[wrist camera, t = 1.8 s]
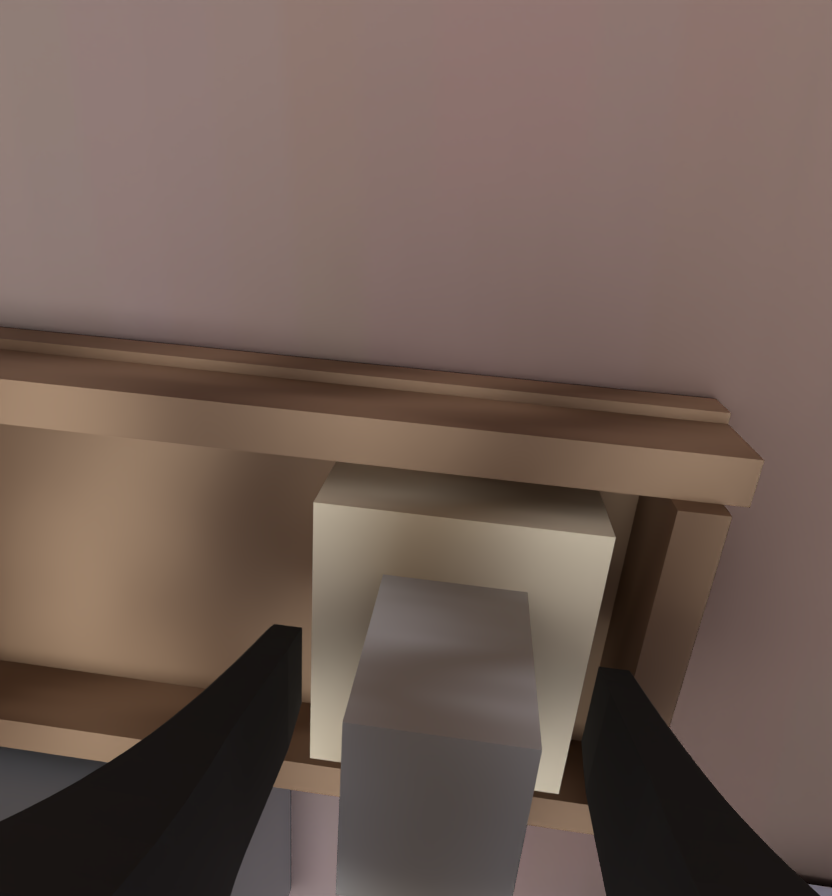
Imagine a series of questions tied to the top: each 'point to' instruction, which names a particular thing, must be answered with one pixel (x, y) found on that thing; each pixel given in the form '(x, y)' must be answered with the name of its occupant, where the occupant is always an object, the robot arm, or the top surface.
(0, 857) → the robot arm
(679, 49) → the top surface
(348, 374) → the wooden tray
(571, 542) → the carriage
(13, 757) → the cabinet
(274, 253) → the top surface
